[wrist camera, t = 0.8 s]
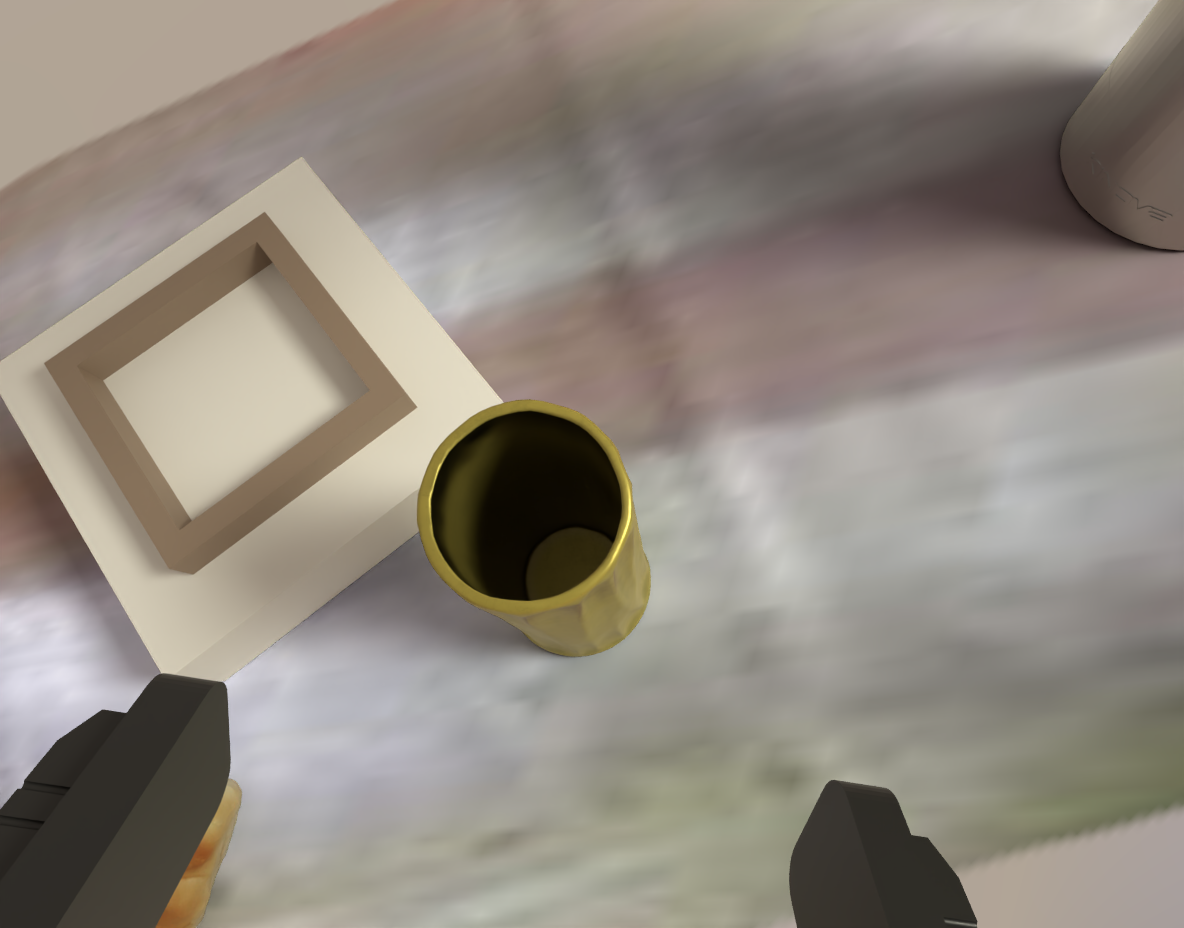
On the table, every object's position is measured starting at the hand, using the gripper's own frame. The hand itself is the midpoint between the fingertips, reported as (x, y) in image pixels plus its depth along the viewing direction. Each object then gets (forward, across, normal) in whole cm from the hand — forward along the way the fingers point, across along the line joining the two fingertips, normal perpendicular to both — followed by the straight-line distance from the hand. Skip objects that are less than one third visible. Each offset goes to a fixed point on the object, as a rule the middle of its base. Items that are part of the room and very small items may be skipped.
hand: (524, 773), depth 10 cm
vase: (+19, -2, +11) cm, 21 cm away
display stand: (+24, +12, +9) cm, 28 cm away
